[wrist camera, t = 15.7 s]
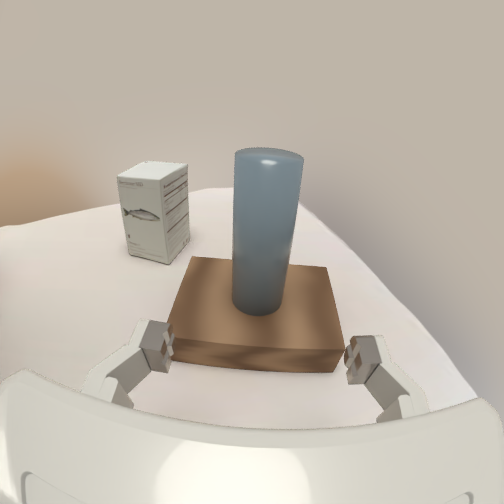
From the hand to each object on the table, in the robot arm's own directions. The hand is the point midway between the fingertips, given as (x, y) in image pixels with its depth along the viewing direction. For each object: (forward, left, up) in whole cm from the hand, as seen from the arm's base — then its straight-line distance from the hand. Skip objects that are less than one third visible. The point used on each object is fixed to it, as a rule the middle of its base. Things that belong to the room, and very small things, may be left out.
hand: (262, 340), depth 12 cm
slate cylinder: (0, +12, -9) cm, 15 cm away
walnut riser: (0, +12, -13) cm, 18 cm away
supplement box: (-15, +25, -13) cm, 32 cm away
